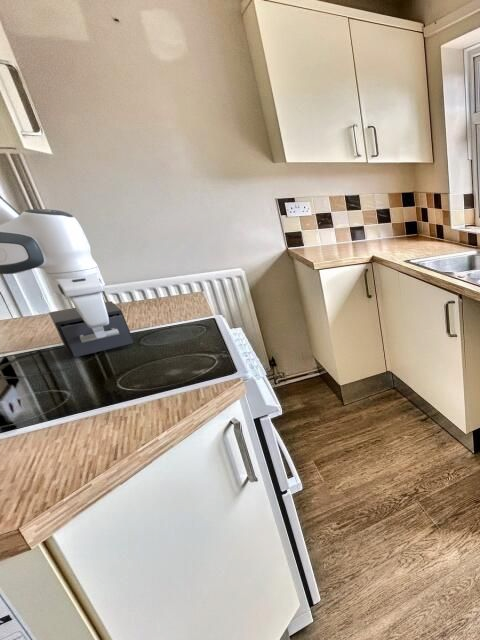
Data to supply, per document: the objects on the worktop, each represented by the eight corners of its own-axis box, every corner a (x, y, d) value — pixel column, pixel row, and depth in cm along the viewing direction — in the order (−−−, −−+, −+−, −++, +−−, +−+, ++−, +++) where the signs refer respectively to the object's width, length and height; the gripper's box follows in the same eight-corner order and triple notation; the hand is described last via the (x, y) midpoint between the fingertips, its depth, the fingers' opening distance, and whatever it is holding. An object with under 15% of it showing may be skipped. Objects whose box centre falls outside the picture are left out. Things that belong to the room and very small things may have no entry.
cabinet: (134, 343, 115) (121, 309, 112) (71, 358, 106) (54, 322, 103) (123, 332, 124) (111, 301, 120) (64, 345, 115) (48, 312, 111)
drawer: (136, 347, 110) (125, 319, 107) (77, 361, 102) (63, 331, 99) (122, 333, 120) (112, 307, 117) (67, 345, 112) (55, 318, 109)
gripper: (53, 277, 102) (77, 330, 107) (63, 291, 90) (89, 350, 95) (88, 273, 107) (109, 324, 112) (102, 285, 94) (125, 342, 100)
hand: (100, 336), depth 103 cm, fingers closed
